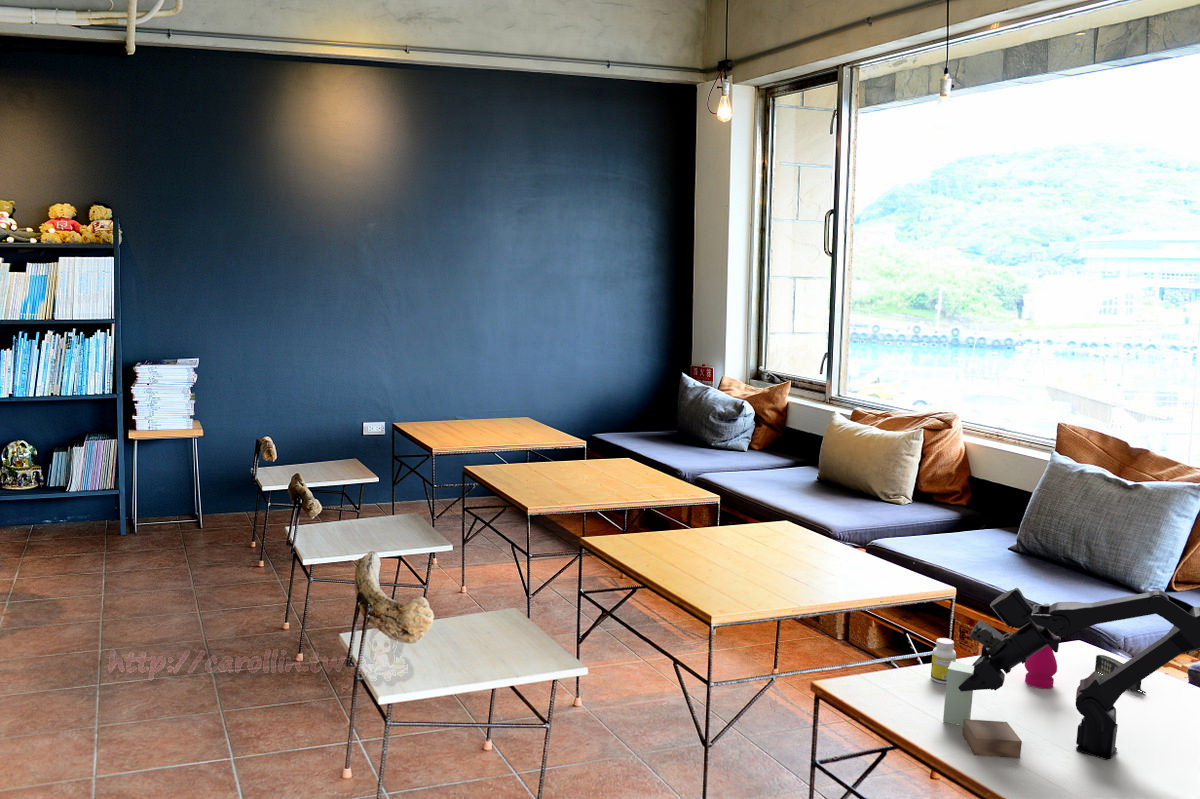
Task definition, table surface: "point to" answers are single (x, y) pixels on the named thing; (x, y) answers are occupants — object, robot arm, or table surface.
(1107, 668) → the mobile phone
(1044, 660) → the pepper mill
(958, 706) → the tall block
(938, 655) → the supplement bottle
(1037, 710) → the table surface
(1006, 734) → the walnut block
